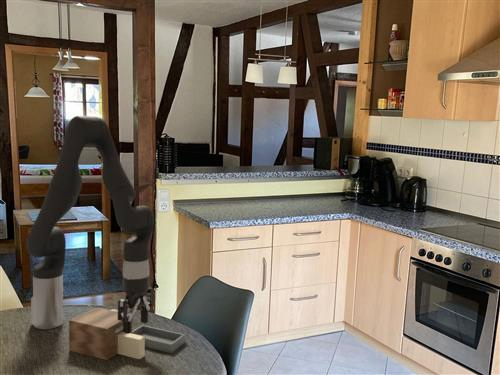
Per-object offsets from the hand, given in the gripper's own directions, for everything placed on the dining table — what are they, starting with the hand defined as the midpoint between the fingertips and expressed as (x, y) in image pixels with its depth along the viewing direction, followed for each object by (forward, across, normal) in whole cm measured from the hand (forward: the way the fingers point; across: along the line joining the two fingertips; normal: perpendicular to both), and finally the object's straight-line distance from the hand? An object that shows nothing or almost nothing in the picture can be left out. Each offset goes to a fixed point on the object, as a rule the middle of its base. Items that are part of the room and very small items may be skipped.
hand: (136, 327), depth 144 cm
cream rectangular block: (+9, 0, -4) cm, 10 cm away
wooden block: (+9, 0, -13) cm, 16 cm away
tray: (+9, -10, 0) cm, 14 cm away
